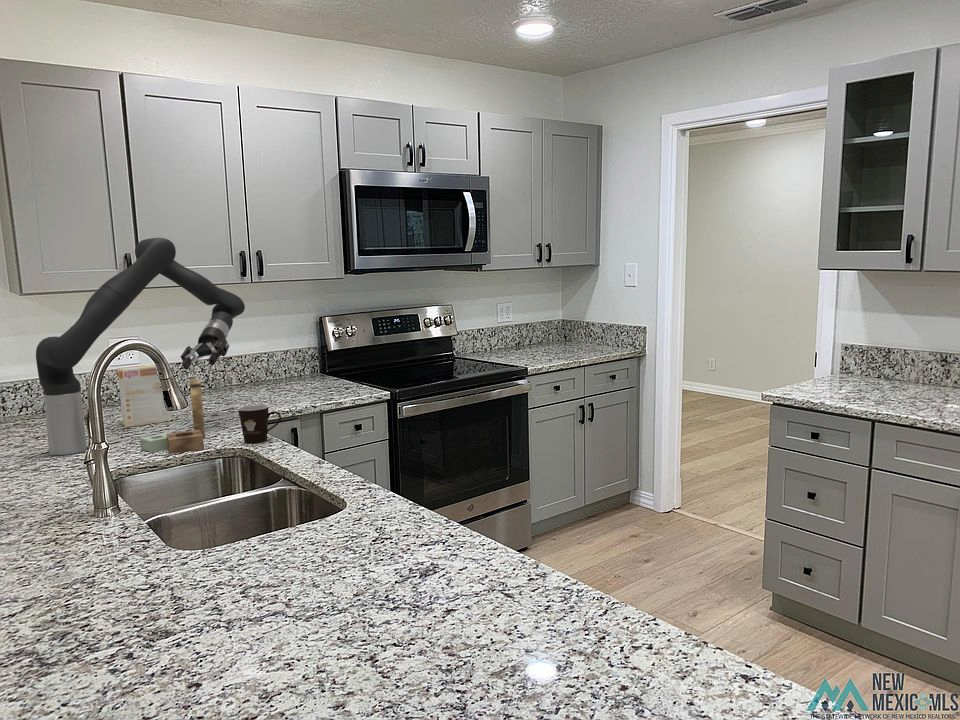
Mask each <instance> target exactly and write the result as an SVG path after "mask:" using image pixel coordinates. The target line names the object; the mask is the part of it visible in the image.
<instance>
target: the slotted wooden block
mask: <svg viewBox="0 0 960 720" xmlns="http://www.w3.org/2000/svg"><path fill="white" fill-rule="evenodd" d="M165 434H166V435H167V442H168V449H167V450H168V453H169V455H170V454H178V453H179V454H180V453H185V452H193V451H200V450H201V451H202V450H204V449H205V446H204V444H205V443H204V439H203V435H202V433H201V431H200V430H194V429H193V430H186V431H185V430H184V431H177V432H170V433H165Z"/></svg>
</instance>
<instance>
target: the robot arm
mask: <svg viewBox="0 0 960 720" xmlns="http://www.w3.org/2000/svg"><path fill="white" fill-rule="evenodd" d="M176 253H177V251H176V245H175V244H174V242H172V240H170V239H168V238H165V237H164V238H163V237H151V238H144V239H143V240H141V241H140V240H139V242H138V243H137V244H136V245H135V248H134V256H135V257H136V260H135V262H133V263H132V264H131V265H129V267H127V268H125V269H123V270H122V271H121V272H119V273H117V274H116V275H114V276H112V277H111V278H109V279H108V280H107V281H106V282H104V283H103V284H102V285H101V286H99V288H97V290H96V291H95V292H94V293H93V294H92V295H91V297H89V299H88V300H87V302H86V304H85V306H84V308H83V310H82V312H81V315H80V317H79V318H78V319H77V320H76V321H75V323H74V324H73V325H72V326H70V328H69V329H67V330H66V331H65V332H64V333H63V334H61V335H60V336H48V337H45V338H43V339H42V340H41V341H39V343H38V344H37V346H36V349H35V361H36V368H37V374H38V380H39V383H40V386H41V388H42V392H43V398H44V406H45V407H44V408H45V417H46V422H45V424H46V432H47V433H46V435H47V443H48V451H49V456H65V455H73V454H77V453H82V452H85V451H87V450H88V446H87V445H88V443H87V442H88V441H87V437H86V427H85V426H86V425H85V418H84V408H83V405H84V404H83V397H82V396H83V395H82V389H81V382H80V381H79V380H78V378H77V377H76V376H75V374H74V373H75V372H74V369H73V368H74V367H75V366H76V365H78V364H79V362H80V361H81V360H82V359H83V358H84V356H86V353H87V352H88V351H89V349H90V348H91V347H92V346H93V344H94V343H95V342H96V340H97V339H98V338H99V337H100V336H101V335H102V334H104V332H105V331H106V330H107V329H108V328H109V327H110V326H111V325H112V324H113V323H114V322H115V321H116V320H117V319H118V318H119V317H120V316H121V315H122V314H123V313H124V312H125V311H126V309H127V308H128V307H130V305H131V304H132V303H133V301H135V299H137V297H138V296H139V295H140V294H141V293H142V292H143V291H144V289H145V288H147V286H148V285H149V284H150V282H152V281H153V280H154V279H155V278H156V277H158V275H161V276H163V277H165V278H167V279H168V280H170V281H172V282H173V283H175V284H176V285H178V286H180V287H181V288H182V289H184V290H185V291H186V292H189V293H190V294H191V295H192V296H193V297H195V298H196V299H197V300H199V301H200V302H202V303H203V304H205V305H206V306H213V305H214V306H213V308H212V311H211V318H210V319H209V321H208V323H207V324H205V327H204V328H203V329H202V332H201V334H200V335H199V337H198V339H197V340H198V341H197V344H196V345H194V347H191V346H190V345H188V346H186V348H185V349H184V351H183V352H182V354H181V355H180V358H181V360H182V362H183V363H181V365H182V367H183V370H185V371H188V370H189V369H190V367H191V365H192V363H193V362H195V361H199V360H200V359H201V358H203V357H208V356H209V358H208V359H207V360H208V361H207V362H208V363H209V365H210V366H214V365H215V363H216V362H217V360H218V359H219V358H221V356H222V357H225V356H226V355H227V354H228V353H227V352H228V351H229V349H230V344H229V342H228V341H227V338H228V335H229V332H230V330H231V328H232V327H233V325H234V324H233V323H234V319H235V318H236V317H238V316H240V315H242V314H243V313H244V312H245V310H246V306H245V305H246V304H245V303H244V301H243V299H242V298H241V297H239V296H238V295H236V294H235V293H233V292H231V291H229V290H226V289H223V288H220V287H218V286H217V285H216V284H214V283H212V282H211V281H210V280H209V279H208V278H206V277H205V276H204V275H201V274H200V273H198V272H195V270H192V269H190V268H188V267H186V266H184V265H182V264H180V263H178V261H176V260H175V258H176V256H177V255H176Z"/></svg>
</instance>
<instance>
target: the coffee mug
mask: <svg viewBox="0 0 960 720" xmlns="http://www.w3.org/2000/svg"><path fill="white" fill-rule="evenodd" d="M269 410H270V409H269V405H267V404H266V405H265V404H254V405H245V406H241V407H238V409H237V411H238V416H239V421H240V426H241V427H240V428H241V430H242V431H241V432H242V436H243V441H244V443H245V444H252V445H253V444H260V443H265V442H267V441H268V433H269V432H270V431H271V430H273V429H274V428H275V427H277V426H278V425H279V423H280V422H281V421H282V416H281V413H280V412H278V411H276V410H272V411H270V412H269ZM272 414H275V415H277V416H278V420H277V422H276V423H275V424H274V425H272V426H271V427H269V424H268V423H269V418H270V416H271V415H272Z"/></svg>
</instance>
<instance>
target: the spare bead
mask: <svg viewBox="0 0 960 720" xmlns="http://www.w3.org/2000/svg"><path fill="white" fill-rule="evenodd" d="M166 434H167V433H164V432H163V433H160V434H153V435H148V436H143V437H140V438H139V444H140V450H143V449H144V450H143V451H147V452H148V451H149V453H155V452H159V451H164V450H168V442H167V435H166Z"/></svg>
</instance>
